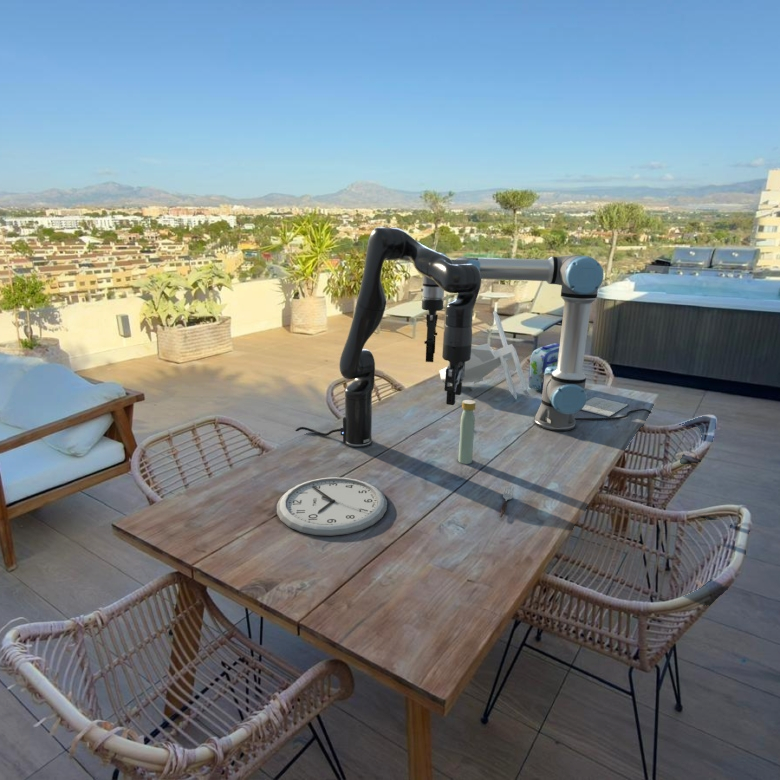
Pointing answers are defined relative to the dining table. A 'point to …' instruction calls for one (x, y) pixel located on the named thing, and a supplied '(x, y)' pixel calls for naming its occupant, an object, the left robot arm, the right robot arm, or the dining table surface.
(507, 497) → the fork
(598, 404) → the invitation card
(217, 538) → the dining table surface
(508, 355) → the white plastic object
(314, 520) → the wall clock
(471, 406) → the cap
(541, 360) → the lunch box
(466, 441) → the bottle
